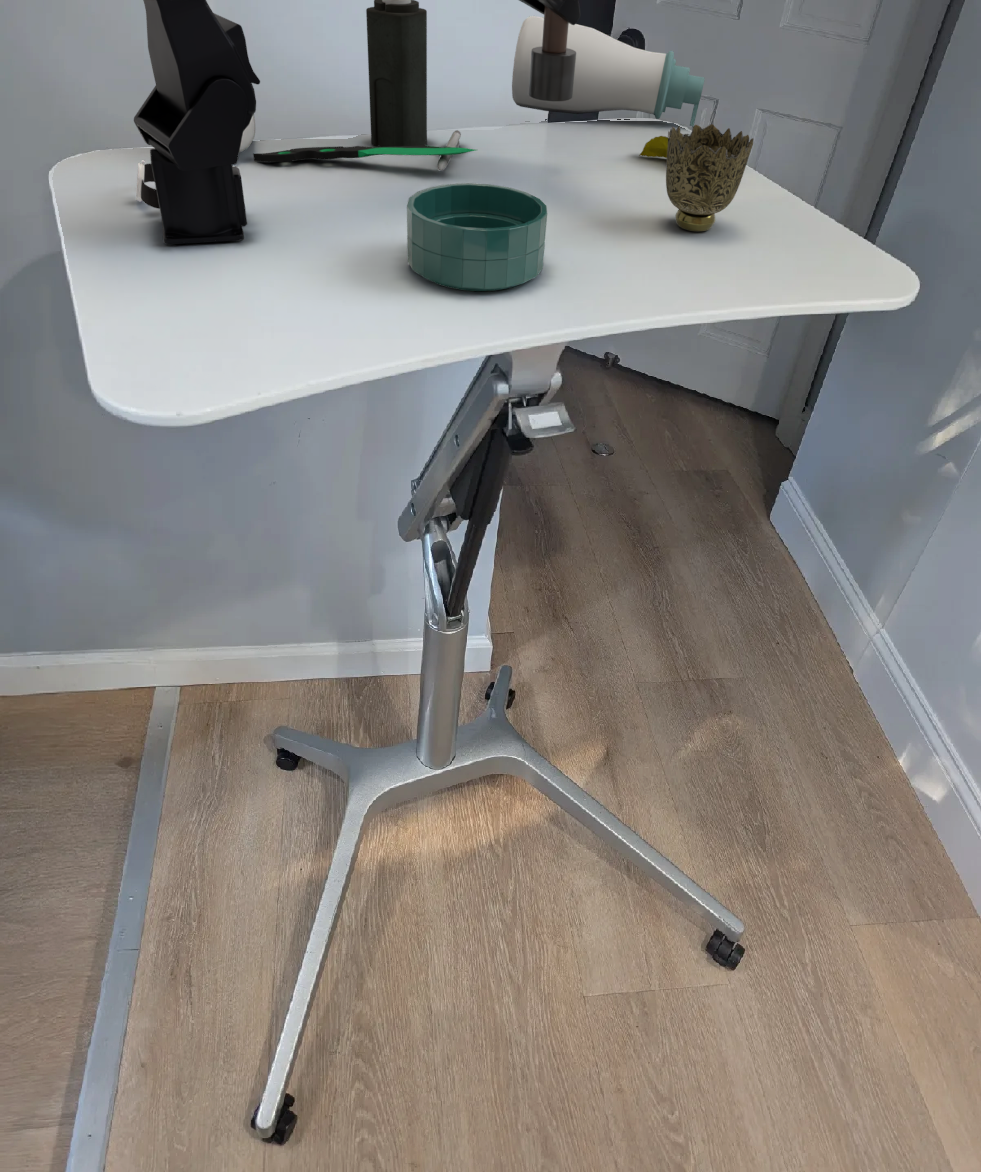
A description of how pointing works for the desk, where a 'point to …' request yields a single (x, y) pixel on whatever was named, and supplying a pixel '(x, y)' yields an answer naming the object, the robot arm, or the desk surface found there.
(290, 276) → the desk surface
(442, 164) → the pen
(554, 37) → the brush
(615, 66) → the soap bottle
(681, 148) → the cup
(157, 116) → the robot arm
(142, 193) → the watch
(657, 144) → the decorative leaf
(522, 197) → the bowl
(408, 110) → the dark bottle
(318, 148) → the knife
